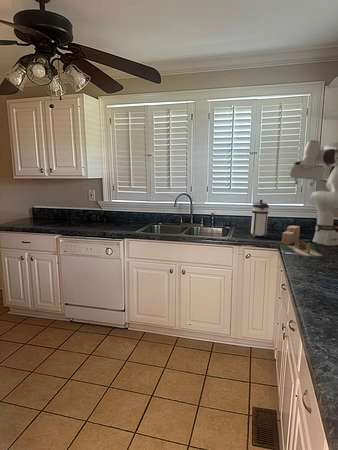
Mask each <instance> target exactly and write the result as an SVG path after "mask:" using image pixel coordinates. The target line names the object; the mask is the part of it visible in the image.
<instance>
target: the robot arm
mask: <svg viewBox="0 0 338 450" xmlns="http://www.w3.org/2000/svg"><path fill="white" fill-rule="evenodd" d="M320 146H321V142H320V141H319V140H308V141H307V142H306V145H305V148H304V151H303V157H302V159H301V160H298V161H294V162H293V166H292V167H291V169H290V171H289V177H291V178H294V181H295V182H294V185H299V181H298V179H303V180H304V179H305V180H312V182H310V183H309V186H310V187H313V186H314V184H315V183H316V182H317V181H322V180H323V178H324V172H325V169H326V167H325V166H328V167H334V168H333V169H332V170H331V172H330V174H329V176H328V178H327V181H326V183H325V187H326V188H327V190H328V191H325V190H318V191H313V192H312V193H311V194H310V196H309V201H310V203H311V204H312V205H313V206H314V208H315V209H316V213H317V217H316V224H315V230H314V231H315V232H314V235H313V239H312V243H316V244H319V245H325V246H338V231H336V230H337V229H338V226H337V225H334V219H335V215H334V213H333V212H332V211H330V210H329V209H328V207H329V208H330V207H331V208H338V142H332V143H328V144H326V145H325V146H324V147H323V149H321V148H320ZM323 165H325V166H323Z"/></svg>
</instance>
